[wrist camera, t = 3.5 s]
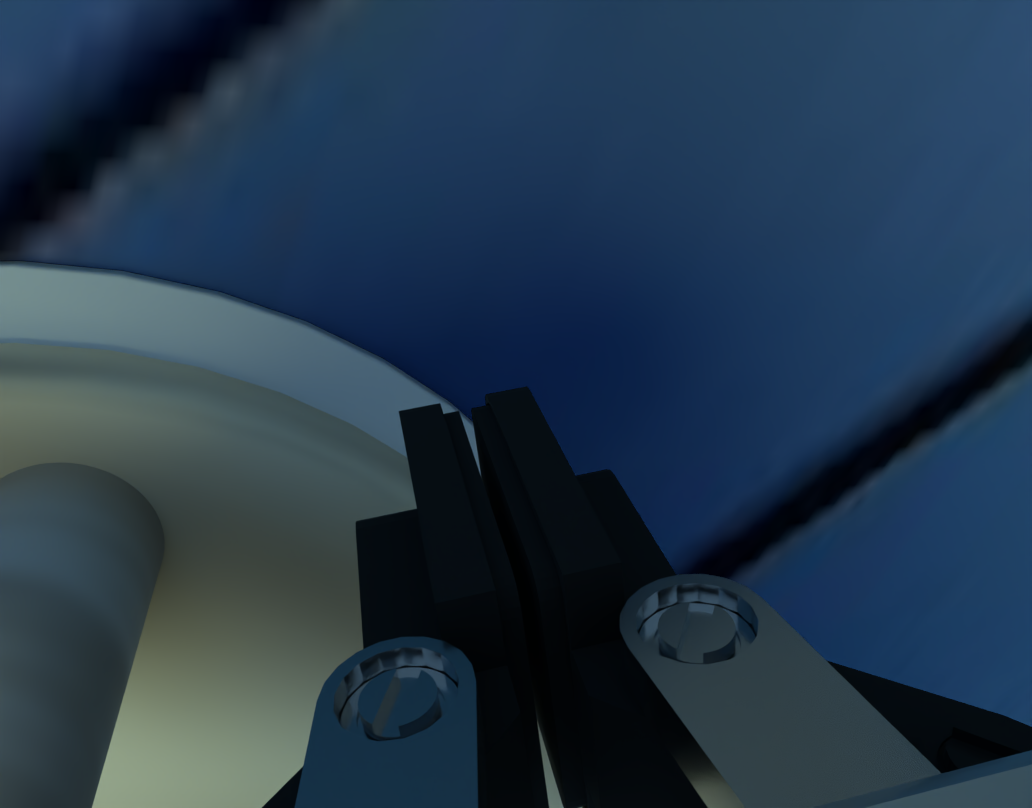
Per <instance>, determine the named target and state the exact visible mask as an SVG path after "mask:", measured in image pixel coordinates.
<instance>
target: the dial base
mask: <svg viewBox="0 0 1032 808" xmlns="http://www.w3.org/2000/svg"><path fill="white" fill-rule="evenodd" d="M0 343H23V344H36V345H49V346H62V347H76V348H89V349H102V350H112V351H117V352H122V353H127V354H133V355H138V356H143V357H148V358H154V359H159V360H164V361H170V362H175V363H180V364H185V365H191V366H196V367H200V368H203V369H207V370H210V371H213V372H216V373H219V374H223V375H226V376H229V377H232V378H236V379H239V380H242V381H245V382H249V383H252V384H255V385H258V386H261V387H265V388H268V389H271V390H274V391H278V392H281V393H283V394H285V395H287V396H290V397H292V398H294V399H296V400H299V401H301V402H303V403H305V404H308V405H310V406H312V407H314V408H317V409H319V410H321V411H323V412H325V413H328V414H330V415H332V416H334V417H337V418H339V419H341V420H343V421H346V422H348V423H350V424H352V425H354V426H356V427H357V428H359V429H361V430H362V431H364V432H366V433H367V434H369V435H371V436H372V437H374V438H376V439H377V440H379V441H381V442H382V443H384V444H386V445H387V446H389V447H391V448H392V449H394V450H396V451H397V452H399V453H400V454H402V455H404V456H405V457H407V453H406V448H405V443H404V438H403V432H402V427H401V422H400V416H399V411H401V410H407V409H412V408H417V407H422V406H427V405H433V404H438V403H440V404H441V407H442V410H443V414H445V413H450V412H455V411H459V412H460V415H461V418H462V421H463V424H464V427H465V430H466V433H467V436H468V439H469V442H470V445H471V448H472V451H473V454H474V457H475V460H476V463H477V466H478V469H479V472H480V465H479V459H478V452H477V446H476V439H475V433H474V426H473V422H472V421H471V420H470V419H469V418H468V417H466V416H465V415H464V414H463V413H462V412H461V411H460V410H458V409H457V408H456V407H455V406H454V405H453V404H451V403H450V402H449V401H448V400H446V399H445V398H443V397H441V396H440V395H438V394H437V393H435V392H434V391H432V390H431V389H429V388H428V387H426V386H425V385H423V384H422V383H420V382H418V381H417V380H415V379H414V378H412V377H411V376H409V375H408V374H406V373H405V372H403V371H402V370H400V369H399V368H397V367H395V366H394V365H392V364H391V363H389V362H388V361H386V360H385V359H383V358H381V357H379V356H377V355H375V354H373V353H371V352H369V351H367V350H365V349H362V348H360V347H358V346H356V345H354V344H352V343H350V342H348V341H346V340H344V339H342V338H340V337H338V336H336V335H333V334H331V333H329V332H327V331H325V330H323V329H321V328H319V327H317V326H315V325H313V324H311V323H309V322H307V321H304V320H301V319H298V318H295V317H292V316H289V315H286V314H283V313H280V312H277V311H274V310H272V309H269V308H266V307H263V306H260V305H257V304H254V303H251V302H248V301H245V300H242V299H239V298H236V297H233V296H231V295H228V294H225V293H222V292H219V291H214V290H209V289H205V288H200V287H195V286H191V285H186V284H182V283H177V282H172V281H168V280H163V279H158V278H154V277H149V276H144V275H140V274H135V273H130V272H126V271H119V270H109V269H98V268H88V267H78V266H67V265H57V264H47V263H37V262H26V261H0ZM480 475H481V472H480Z"/></svg>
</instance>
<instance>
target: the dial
mask: <svg viewBox="0 0 1032 808" xmlns="http://www.w3.org/2000/svg"><path fill="white" fill-rule="evenodd" d="M412 509H417V507H416V501H415V496H414V491H413V485H412V480H411V475H410V469H409V464H408V459H407V457H405V456H404V455H402V454H400V453H399V452H397V451H396V450H394V449H392V448H391V447H389V446H387V445H386V444H384V443H382V442H381V441H379V440H377V439H376V438H374V437H372V436H371V435H369V434H367V433H366V432H364V431H362V430H361V429H359V428H357V427H356V426H354V425H352V424H350V423H348V422H346V421H343V420H341V419H339V418H337V417H334V416H332V415H330V414H328V413H325V412H323V411H321V410H319V409H317V408H314V407H312V406H310V405H308V404H305V403H303V402H301V401H299V400H296V399H294V398H292V397H290V396H287V395H285V394H283V393H281V392H278V391H274V390H271V389H268V388H265V387H261V386H258V385H255V384H252V383H249V382H245V381H242V380H239V379H236V378H232V377H229V376H226V375H223V374H219V373H216V372H213V371H210V370H207V369H203V368H200V367H196V366H191V365H185V364H180V363H175V362H170V361H164V360H159V359H154V358H148V357H143V356H138V355H133V354H127V353H122V352H117V351H112V350H102V349H89V348H76V347H62V346H49V345H36V344H23V343H0V808H262V807H263V806H264V805H265V804H266V803H267V802H268V801H269V800H270V799H271V798H272V797H273V796H274V795H275V794H276V793H277V792H278V791H279V790H280V789H281V788H282V787H283V786H284V785H285V784H286V783H287V782H288V781H289V780H290V779H291V778H292V777H293V776H294V775H295V774H296V773H297V772H298V771H299V770H300V769H301V768H302V767H303V765H304V760H305V755H306V750H307V746H308V741H309V736H310V731H311V726H312V721H313V717H314V712H315V707H316V702H317V699H318V697H319V694H320V692H321V689H322V687H323V684H324V682H325V681H326V680H327V679H328V677H329V676H330V675H331V674H332V673H333V671H334V670H335V669H336V668H337V667H338V666H339V665H340V664H341V663H343V662H344V661H345V660H347V659H348V658H349V657H351V656H352V655H354V654H355V653H356V652H358V651H360V650H362V649H363V636H362V620H361V605H360V590H359V574H358V559H357V544H356V521H359V520H363V519H368V518H373V517H378V516H383V515H388V514H393V513H397V512H402V511H407V510H412ZM537 724H538V722H537ZM538 731H539V738H540V745H541V753H542V760H543V767H544V774H545V781H546V788H547V795H548V802H549V808H564V807H563V805H562V801H561V798H560V795H559V792H558V788H557V785H556V782H555V778H554V775H553V772H552V768H551V765H550V762H549V758H548V755H547V752H546V748H545V745H544V742H543V738H542V735H541V732H540V728H539V725H538ZM580 808H582V807H580Z"/></svg>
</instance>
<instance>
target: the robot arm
mask: <svg viewBox="0 0 1032 808" xmlns="http://www.w3.org/2000/svg"><path fill="white" fill-rule="evenodd" d="M485 401H486V406H481V407H476V408H472V419H473V426H474V433H475V439H476V446H477V452H478V459H479V465H480V472H481V475H480V472H479V469H478V466H477V463H476V460H475V457H474V454H473V451H472V448H471V445H470V442H469V439H468V436H467V433H466V430H465V427H464V424H463V421H462V418H461V415H460V412H459V411H455V412H450V413H445V414H443V410H442V407H441V404H440V403H438V404H433V405H427V406H422V407H417V408H412V409H407V410H401V411H399V416H400V422H401V427H402V432H403V438H404V443H405V448H406V453H407V459H408V464H409V469H410V475H411V480H412V485H413V491H414V496H415V501H416V507H417V509H412V510H407V511H402V512H397V513H393V514H388V515H383V516H378V517H373V518H368V519H363V520H359V521H356V544H357V559H358V574H359V590H360V605H361V620H362V636H363V649H362V650H360V651H358V652H356V653H355V654H354V655H352V656H351V657H349V658H348V659H347V660H345V661H344V662H343V663H341V664H340V665H339V666H338V667H337V668H336V669H335V670H334V671H333V673H332V674H331V675H330V676H329V677H328V679H327V680H326V681H325V682H324V684H323V687H322V689H321V692H320V694H319V697H318V699H317V702H316V707H315V712H314V717H313V721H312V726H311V731H310V736H309V741H308V746H307V750H306V755H305V760H304V765H303V767H302V768H301V769H300V770H299V771H298V772H297V773H296V774H295V775H294V776H293V777H292V778H291V779H290V780H289V781H288V782H287V783H286V784H285V785H284V786H283V787H282V788H281V789H280V790H279V791H278V792H277V793H276V794H275V795H274V796H273V797H272V798H271V799H270V800H269V801H268V802H267V803H266V804H265V805H264V806H263V807H262V808H549V802H548V795H547V788H546V781H545V774H544V767H543V760H542V753H541V745H540V738H539V731H538V725H539V728H540V732H541V735H542V738H543V742H544V745H545V748H546V752H547V755H548V758H549V762H550V765H551V768H552V772H553V775H554V778H555V782H556V785H557V788H558V792H559V795H560V798H561V801H562V805H563V807H564V808H580V807H582V808H1032V727H1030V726H1028V725H1025V724H1023V723H1021V722H1018V721H1016V720H1013V719H1011V718H1009V717H1006V716H1004V715H1000V714H997V713H994V712H991V711H987V710H984V709H981V708H978V707H975V706H971V705H968V704H965V703H962V702H958V701H955V700H952V699H949V698H945V697H942V696H939V695H936V694H933V693H929V692H926V691H923V690H920V689H916V688H913V687H910V686H907V685H904V684H900V683H897V682H894V681H891V680H887V679H884V678H881V677H878V676H875V675H871V674H868V673H865V672H862V671H858V670H855V669H852V668H849V667H845V666H842V665H839V664H836V663H833V662H829V661H826V660H825V659H824V658H823V657H822V656H821V655H820V654H819V653H818V652H817V651H816V650H815V649H814V648H813V647H812V646H811V645H810V644H809V643H808V642H807V641H806V640H805V639H804V638H803V637H801V636H800V635H799V634H798V633H797V632H796V631H795V630H794V629H793V628H792V627H791V626H790V625H789V624H788V623H787V622H786V621H785V620H784V619H783V618H782V617H781V616H780V615H779V614H778V613H777V612H776V611H775V610H774V609H773V608H772V607H771V606H770V605H769V604H768V603H767V602H766V601H765V600H764V599H763V598H761V597H760V596H759V595H757V594H756V593H755V592H753V591H752V590H750V589H749V588H748V587H746V586H744V585H742V584H739V583H737V582H734V581H732V580H729V579H727V578H723V577H717V576H712V575H706V574H680V575H676V574H675V572H674V571H673V569H672V567H671V566H670V564H669V562H668V561H667V559H666V558H665V556H664V554H663V553H662V551H661V549H660V548H659V546H658V545H657V543H656V541H655V540H654V538H653V537H652V535H651V533H650V532H649V530H648V528H647V527H646V525H645V524H644V522H643V520H642V519H641V517H640V515H639V514H638V512H637V511H636V509H635V507H634V506H633V504H632V502H631V501H630V499H629V498H628V496H627V494H626V493H625V491H624V490H623V488H622V486H621V485H620V483H619V481H618V480H617V478H616V477H615V475H614V474H613V473H612V471H611V470H607V469H606V470H601V471H597V472H592V473H587V474H582V475H577V476H575V474H574V472H573V470H572V468H571V466H570V465H569V463H568V461H567V459H566V457H565V455H564V453H563V452H562V450H561V448H560V446H559V444H558V442H557V440H556V438H555V437H554V435H553V433H552V431H551V429H550V427H549V425H548V423H547V422H546V420H545V418H544V416H543V414H542V412H541V410H540V408H539V407H538V405H537V403H536V401H535V399H534V397H533V395H532V393H531V392H530V390H529V388H528V387H522V388H517V389H511V390H506V391H501V392H496V393H490V394H486V396H485ZM537 722H538V724H537Z"/></svg>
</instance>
